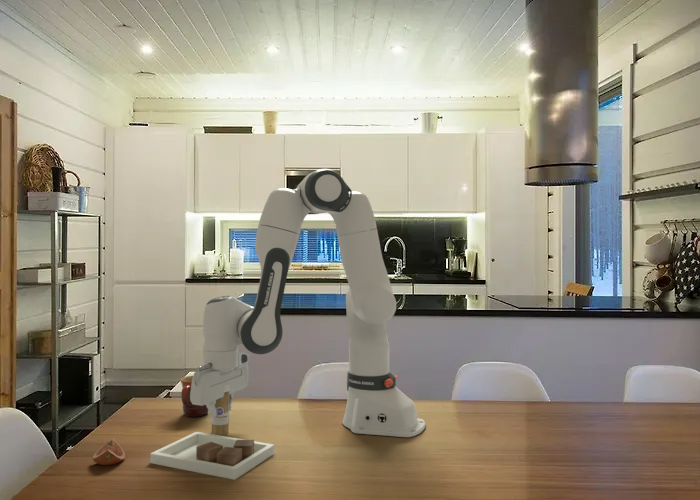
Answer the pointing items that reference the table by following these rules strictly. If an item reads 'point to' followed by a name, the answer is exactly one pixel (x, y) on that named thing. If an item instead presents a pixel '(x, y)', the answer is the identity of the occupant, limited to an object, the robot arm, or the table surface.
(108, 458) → the fruit slice
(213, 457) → the cube
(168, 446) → the tray
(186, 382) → the mug
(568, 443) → the table surface
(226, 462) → the cube
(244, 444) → the cube
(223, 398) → the sprinkles bottle
